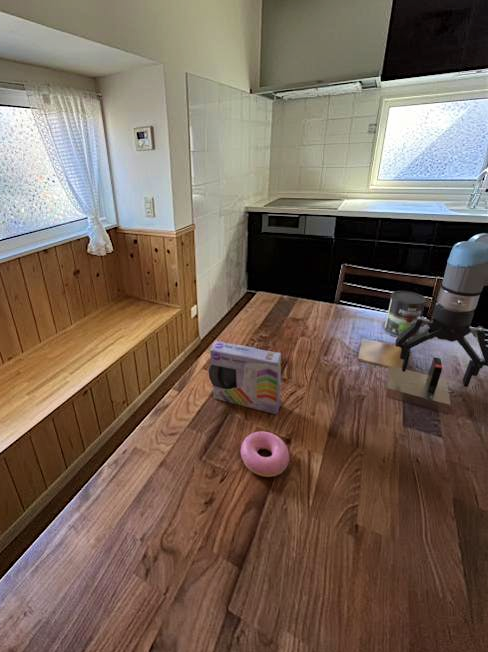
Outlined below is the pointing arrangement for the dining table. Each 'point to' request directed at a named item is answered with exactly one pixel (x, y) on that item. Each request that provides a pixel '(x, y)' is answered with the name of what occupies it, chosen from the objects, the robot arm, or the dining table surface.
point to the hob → (417, 389)
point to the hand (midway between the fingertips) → (433, 376)
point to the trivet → (380, 354)
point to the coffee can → (403, 311)
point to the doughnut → (265, 464)
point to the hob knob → (434, 374)
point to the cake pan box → (246, 376)
